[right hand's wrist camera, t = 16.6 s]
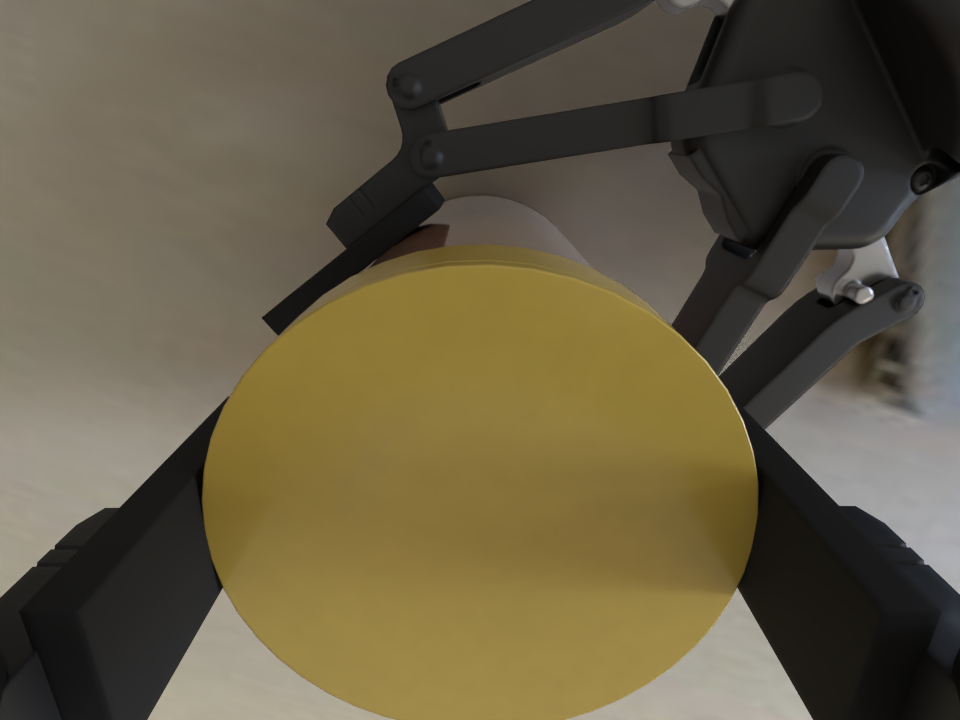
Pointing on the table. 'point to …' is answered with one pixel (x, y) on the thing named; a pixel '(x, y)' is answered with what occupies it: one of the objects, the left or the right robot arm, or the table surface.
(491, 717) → the lid
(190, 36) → the table surface
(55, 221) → the table surface
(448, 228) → the jar
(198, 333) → the table surface
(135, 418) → the table surface
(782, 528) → the right robot arm
